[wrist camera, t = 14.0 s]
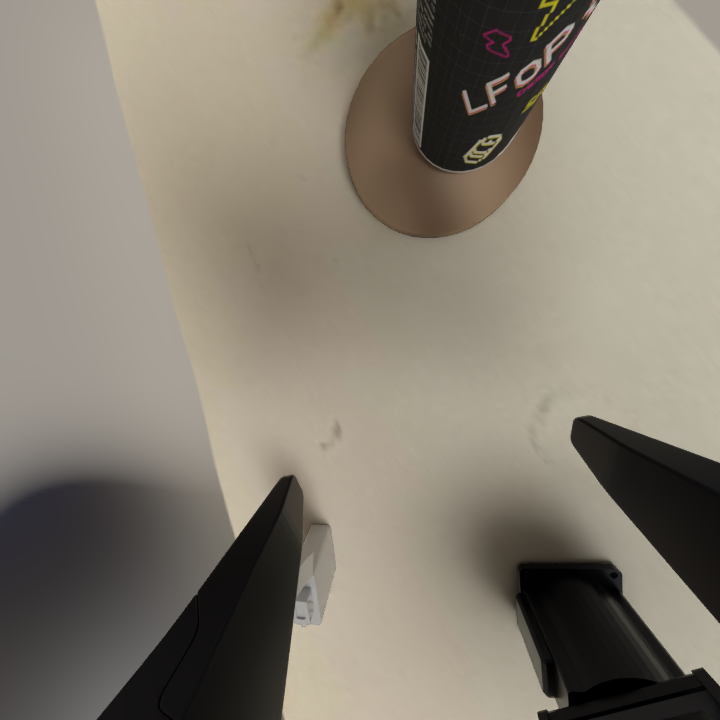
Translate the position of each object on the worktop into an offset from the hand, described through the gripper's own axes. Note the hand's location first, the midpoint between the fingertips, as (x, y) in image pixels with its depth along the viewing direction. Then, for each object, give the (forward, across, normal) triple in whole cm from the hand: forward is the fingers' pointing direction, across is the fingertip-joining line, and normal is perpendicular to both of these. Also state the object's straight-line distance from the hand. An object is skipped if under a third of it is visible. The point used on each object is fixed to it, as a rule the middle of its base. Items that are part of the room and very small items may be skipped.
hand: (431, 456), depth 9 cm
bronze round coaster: (+14, -6, -10) cm, 18 cm away
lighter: (+8, +8, +15) cm, 19 cm away
